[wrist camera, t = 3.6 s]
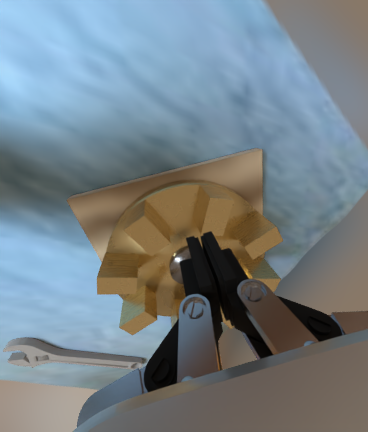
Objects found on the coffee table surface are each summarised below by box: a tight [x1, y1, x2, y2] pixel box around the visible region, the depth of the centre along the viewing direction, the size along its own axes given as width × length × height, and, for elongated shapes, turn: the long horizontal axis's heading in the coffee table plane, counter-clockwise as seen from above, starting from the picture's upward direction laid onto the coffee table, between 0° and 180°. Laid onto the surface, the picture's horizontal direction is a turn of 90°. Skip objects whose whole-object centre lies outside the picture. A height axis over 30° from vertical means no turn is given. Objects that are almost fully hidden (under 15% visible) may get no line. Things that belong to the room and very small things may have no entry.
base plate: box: [67, 148, 263, 300], centre depth 28 cm, size 24×24×2 cm
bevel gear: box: [97, 180, 283, 335], centre depth 24 cm, size 22×22×6 cm
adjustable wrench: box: [3, 337, 142, 369], centre depth 36 cm, size 25×6×2 cm, turn 55°
